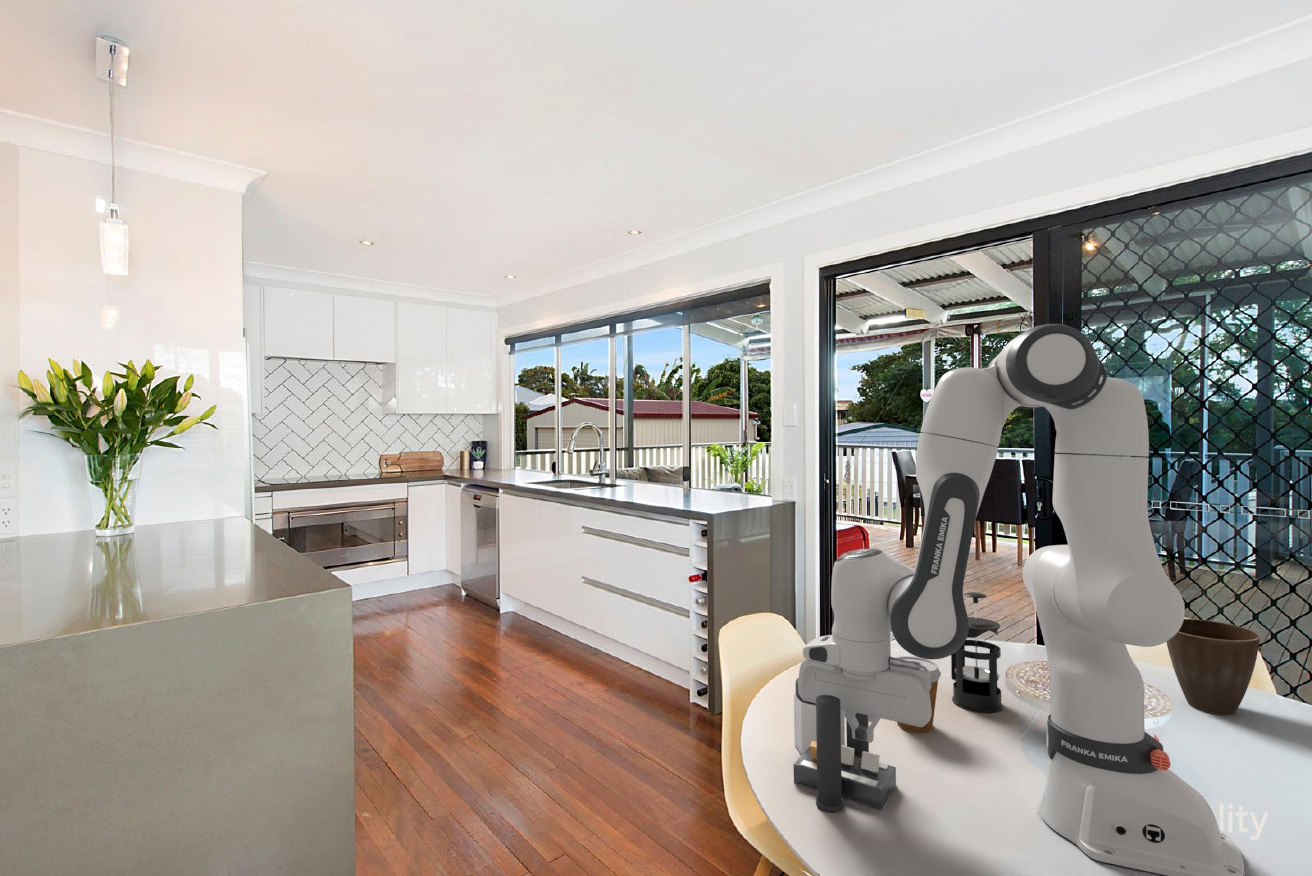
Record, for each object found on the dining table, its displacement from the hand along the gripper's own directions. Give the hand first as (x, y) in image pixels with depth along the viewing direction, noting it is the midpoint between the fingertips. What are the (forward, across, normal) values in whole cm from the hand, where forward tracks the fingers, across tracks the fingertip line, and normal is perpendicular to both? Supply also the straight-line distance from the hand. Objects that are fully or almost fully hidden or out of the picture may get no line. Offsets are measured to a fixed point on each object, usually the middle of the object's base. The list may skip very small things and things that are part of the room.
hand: (862, 739), depth 101 cm
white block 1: (+5, +3, 0) cm, 6 cm away
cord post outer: (+8, +3, +7) cm, 11 cm away
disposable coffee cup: (+8, -1, -28) cm, 29 cm away
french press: (+8, -9, -46) cm, 48 cm away
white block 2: (+5, -1, 0) cm, 5 cm away
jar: (+8, +11, -9) cm, 16 cm away
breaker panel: (+8, +3, 0) cm, 8 cm away
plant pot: (+9, -49, -69) cm, 85 cm away
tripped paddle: (+5, +7, 0) cm, 9 cm away
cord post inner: (+8, +3, -7) cm, 11 cm away
